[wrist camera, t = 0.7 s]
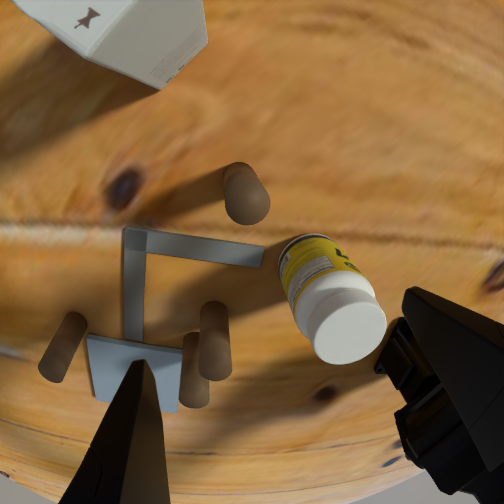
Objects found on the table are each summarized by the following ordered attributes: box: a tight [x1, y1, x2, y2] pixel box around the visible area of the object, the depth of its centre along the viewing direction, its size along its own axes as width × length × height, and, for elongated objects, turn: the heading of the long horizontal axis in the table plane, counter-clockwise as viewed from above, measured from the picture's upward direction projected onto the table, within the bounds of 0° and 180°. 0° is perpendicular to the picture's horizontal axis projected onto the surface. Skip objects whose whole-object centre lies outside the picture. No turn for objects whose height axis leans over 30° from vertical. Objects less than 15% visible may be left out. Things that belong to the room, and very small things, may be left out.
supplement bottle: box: [278, 233, 387, 365], centre depth 19 cm, size 5×5×8 cm
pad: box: [86, 334, 183, 413], centre depth 25 cm, size 8×8×1 cm
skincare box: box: [10, 0, 208, 91], centre depth 10 cm, size 6×4×12 cm
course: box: [38, 162, 270, 408], centre depth 19 cm, size 14×15×6 cm
